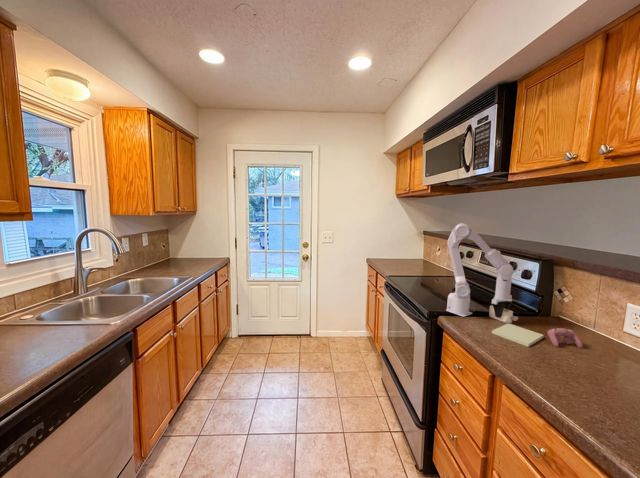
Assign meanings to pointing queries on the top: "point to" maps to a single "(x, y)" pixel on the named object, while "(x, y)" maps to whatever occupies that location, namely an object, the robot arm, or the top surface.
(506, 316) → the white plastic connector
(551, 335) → the pink toy car
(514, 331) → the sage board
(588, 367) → the top surface
